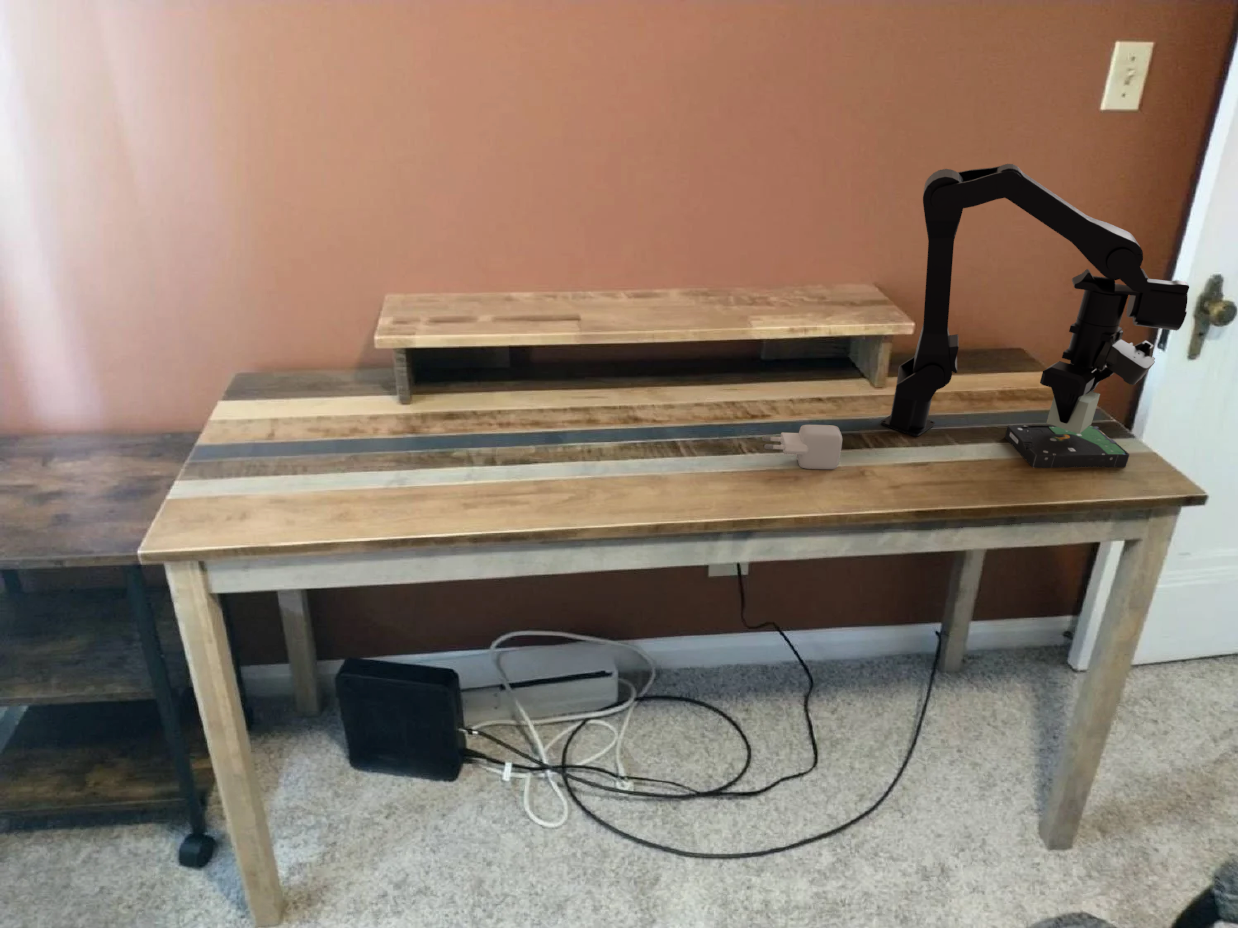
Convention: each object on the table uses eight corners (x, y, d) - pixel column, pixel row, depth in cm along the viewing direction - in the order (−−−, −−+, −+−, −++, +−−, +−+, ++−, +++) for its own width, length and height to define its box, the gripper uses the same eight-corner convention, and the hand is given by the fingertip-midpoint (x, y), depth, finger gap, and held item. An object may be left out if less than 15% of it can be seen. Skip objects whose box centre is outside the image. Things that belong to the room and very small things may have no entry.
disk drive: (1032, 472, 145) (1126, 470, 146) (1037, 455, 144) (1132, 453, 145) (1002, 440, 154) (1091, 438, 155) (1006, 424, 153) (1095, 422, 154)
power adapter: (762, 470, 141) (767, 434, 138) (758, 455, 145) (762, 419, 142) (839, 473, 141) (845, 437, 138) (832, 457, 145) (838, 422, 143)
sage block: (1079, 433, 145) (1088, 403, 143) (1046, 423, 148) (1054, 393, 146) (1091, 423, 149) (1100, 394, 146) (1058, 413, 152) (1066, 384, 149)
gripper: (1135, 352, 130) (1103, 455, 137) (1176, 319, 142) (1145, 415, 149) (1052, 329, 136) (1026, 429, 144) (1098, 300, 148) (1072, 393, 156)
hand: (1070, 417), depth 148 cm, fingers closed on sage block, 5 cm apart
